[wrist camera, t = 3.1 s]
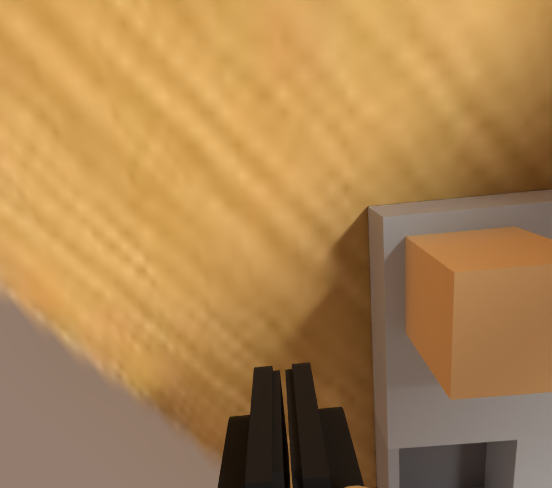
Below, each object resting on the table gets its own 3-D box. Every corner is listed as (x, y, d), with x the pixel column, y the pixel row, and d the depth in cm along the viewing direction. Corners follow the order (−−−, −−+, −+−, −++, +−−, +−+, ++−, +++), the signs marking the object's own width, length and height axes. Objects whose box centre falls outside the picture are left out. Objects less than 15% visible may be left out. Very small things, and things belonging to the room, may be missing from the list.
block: (514, 226, 17) (607, 259, 12) (507, 324, 18) (588, 389, 14) (405, 236, 17) (454, 272, 12) (405, 333, 19) (450, 399, 14)
